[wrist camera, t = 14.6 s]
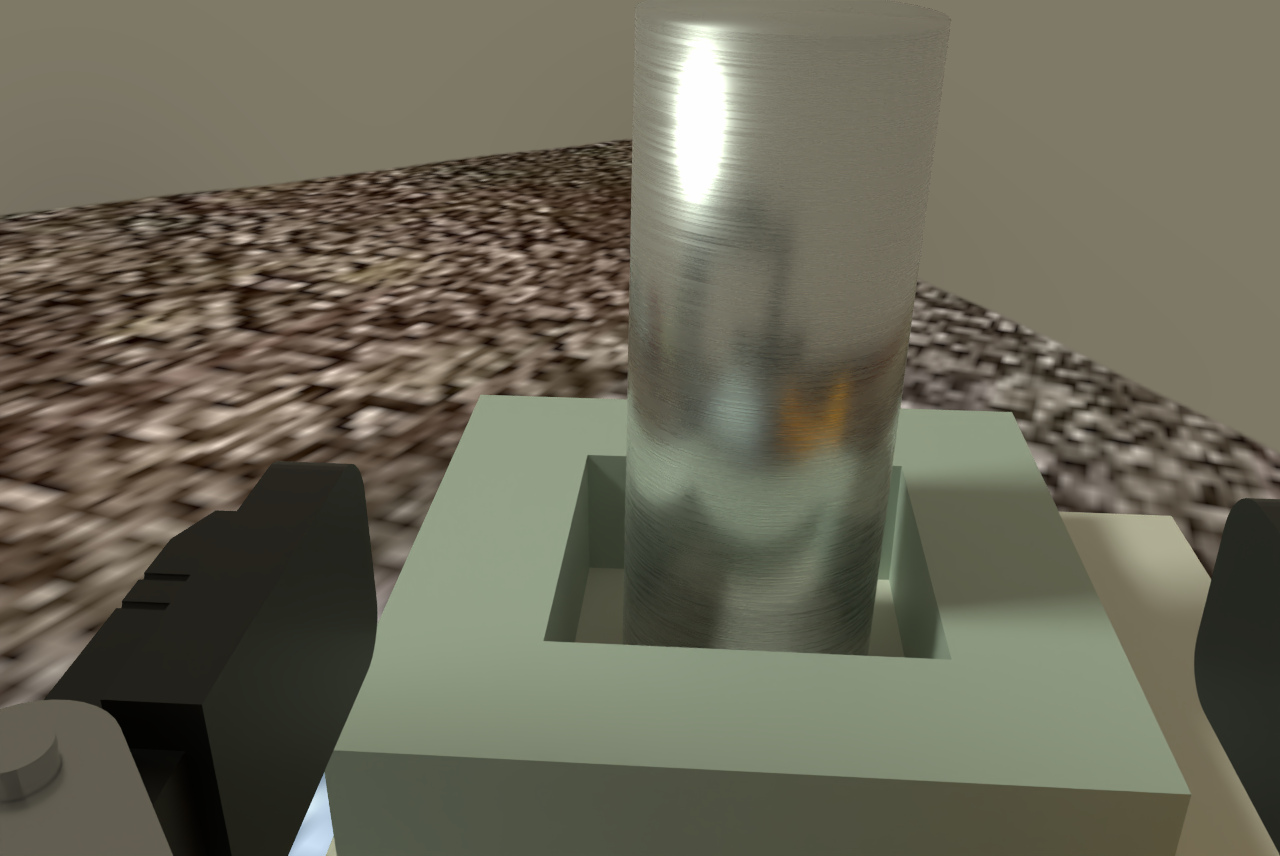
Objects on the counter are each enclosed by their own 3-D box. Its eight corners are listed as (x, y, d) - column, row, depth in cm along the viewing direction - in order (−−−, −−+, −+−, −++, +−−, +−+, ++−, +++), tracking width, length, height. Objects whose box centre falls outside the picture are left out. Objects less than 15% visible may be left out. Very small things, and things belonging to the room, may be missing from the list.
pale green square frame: (309, 958, 20) (278, 770, 18) (473, 522, 32) (465, 385, 31) (1447, 1029, 19) (1532, 837, 17) (1163, 549, 31) (1195, 409, 30)
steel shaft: (610, 739, 23) (621, 29, 17) (632, 591, 28) (647, -13, 22) (874, 758, 23) (975, 41, 17) (854, 605, 27) (929, -3, 22)
